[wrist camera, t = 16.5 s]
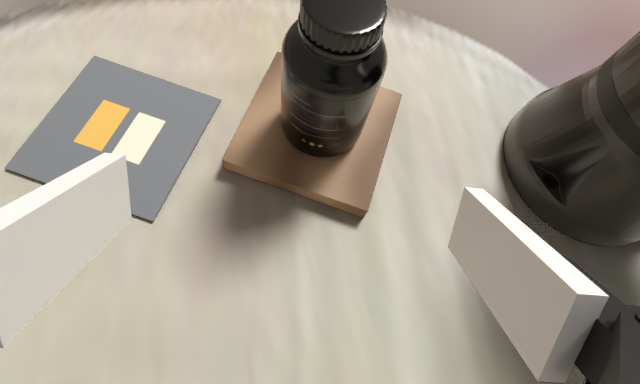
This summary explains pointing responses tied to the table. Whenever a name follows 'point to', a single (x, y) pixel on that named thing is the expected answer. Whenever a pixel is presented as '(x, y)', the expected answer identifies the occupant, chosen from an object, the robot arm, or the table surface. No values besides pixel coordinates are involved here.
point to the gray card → (120, 131)
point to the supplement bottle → (331, 73)
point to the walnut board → (305, 170)
